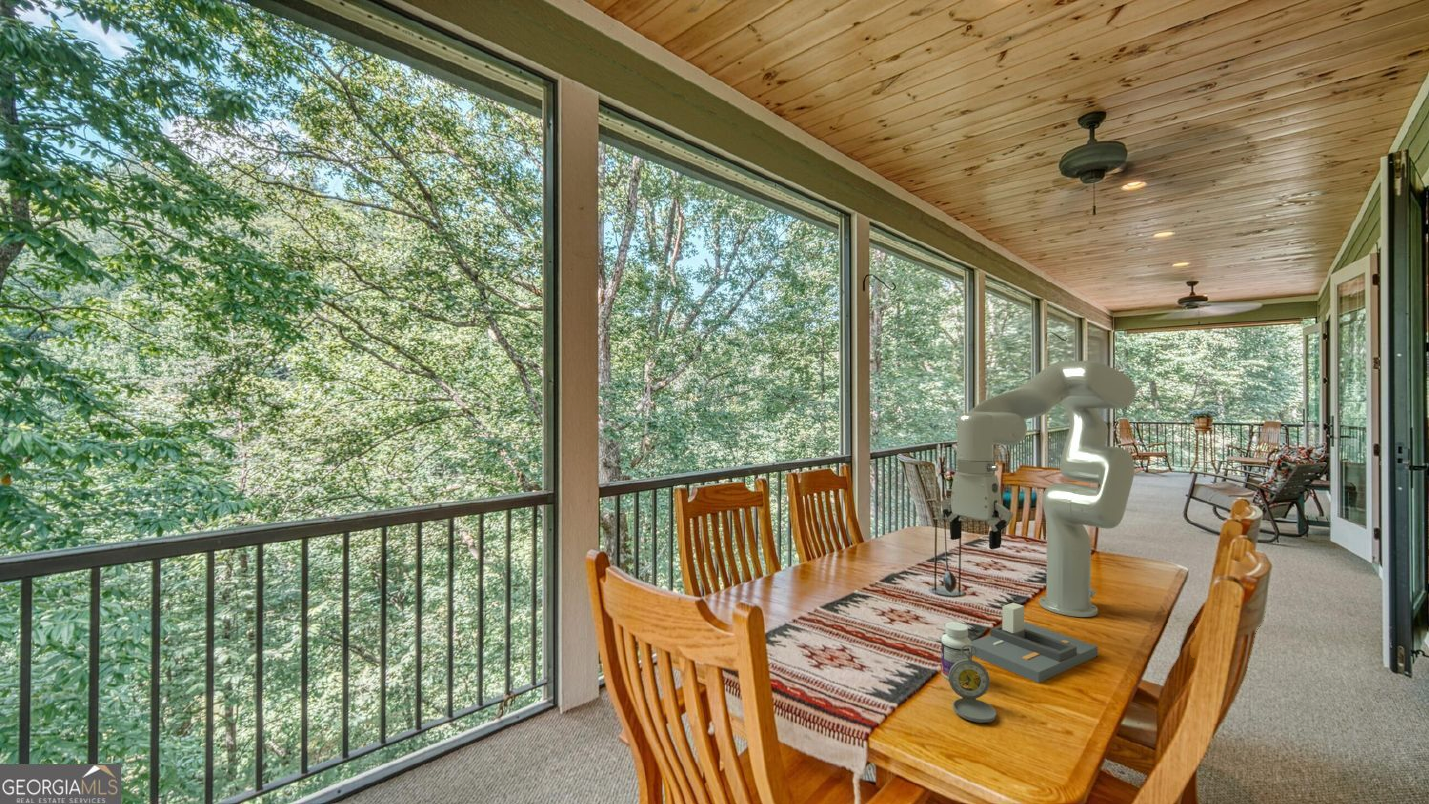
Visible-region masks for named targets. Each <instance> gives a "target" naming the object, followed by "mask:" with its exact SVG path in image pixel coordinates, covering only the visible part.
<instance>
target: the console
mask: <svg viewBox="0 0 1429 804" xmlns="http://www.w3.org/2000/svg"><path fill="white" fill-rule="evenodd" d="M1024 630H1025V638H1021V637H1018V636H1015V635H1012V634H1010V633H1007V632H1004V631H1002V624H1000V625H997V626H994V627H992V628H990V629H989V634H988V635H985V636H983V637H982V636H981V637H980V638H977V639H974V640H971V642H972V646H973V647H975V648H976V650H977V653H976V654H975V655H973V656H972V657H976V658H978V659H980V660H983V661H985V662H987V663H989V664H993V665H995V666H997V667H999V668H1002V669H1004V670H1006V671H1009V672H1011V673H1013V674H1017V675H1018V676H1020V677H1022V678H1023V677H1024V678H1025V679H1027V680H1031V681H1032V682H1035V683H1037V684H1039V683H1042V682H1044V681H1046V680H1048V679H1050V678H1053V677H1055V676H1057V675H1059V674H1062V673H1063V672H1066V671H1068V670H1070V669H1073V668H1075V667H1077V666H1079V665H1081V664H1083V663H1085V662H1088V661H1090V660H1092V659H1094V658H1096V656H1097V657H1098V656H1099V652H1098V651H1099V646H1098V645H1095V644H1092V643H1089V642H1087V641H1083V640H1080V639H1077V638H1074V637H1071V636H1068V635H1065V634H1062V633H1059V632H1056V631H1054V630H1051V629H1048V628H1045V627H1042V626H1039V625H1036V624H1033V623H1030V622H1027V621H1026V622H1025V621H1024ZM973 653H975V649H974V648H972V654H973ZM1076 665H1077V666H1076ZM1074 666H1075V667H1074ZM1072 667H1073V668H1072Z"/></svg>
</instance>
